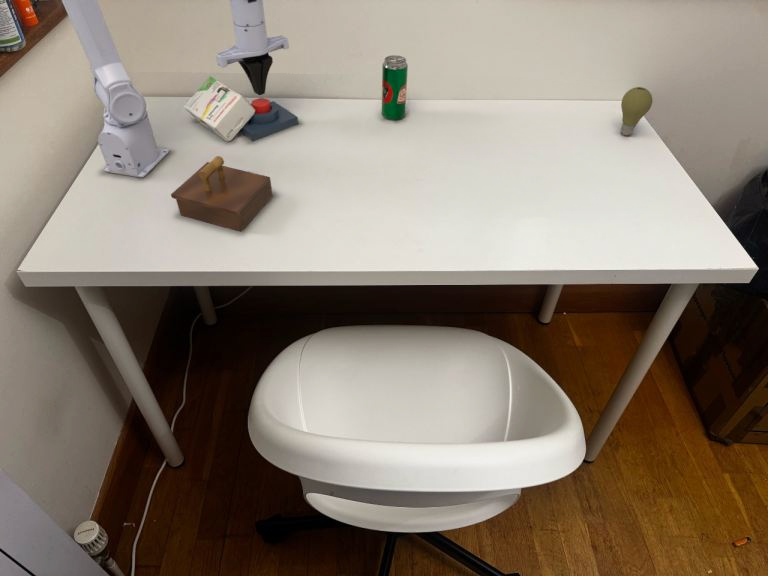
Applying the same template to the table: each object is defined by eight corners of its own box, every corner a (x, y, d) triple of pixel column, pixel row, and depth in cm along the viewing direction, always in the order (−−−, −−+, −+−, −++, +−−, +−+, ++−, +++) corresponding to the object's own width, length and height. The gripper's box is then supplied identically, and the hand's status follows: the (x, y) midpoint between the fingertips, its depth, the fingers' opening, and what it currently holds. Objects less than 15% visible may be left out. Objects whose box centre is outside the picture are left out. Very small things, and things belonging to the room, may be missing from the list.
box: (252, 141, 112) (249, 125, 109) (229, 124, 117) (226, 108, 114) (298, 124, 117) (296, 108, 115) (274, 108, 122) (272, 92, 119)
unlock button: (259, 116, 113) (257, 108, 112) (249, 109, 115) (248, 101, 113) (274, 110, 114) (273, 102, 113) (264, 104, 116) (263, 96, 115)
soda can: (401, 122, 118) (404, 66, 110) (378, 119, 119) (379, 62, 111) (407, 111, 122) (410, 56, 113) (385, 108, 123) (386, 52, 114)
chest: (180, 215, 94) (175, 199, 92) (215, 182, 101) (212, 166, 99) (241, 231, 92) (237, 215, 89) (272, 196, 99) (270, 180, 96)
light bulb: (616, 141, 114) (632, 94, 107) (607, 128, 118) (622, 81, 111) (643, 141, 114) (661, 94, 107) (633, 128, 118) (650, 82, 111)
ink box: (209, 74, 114) (242, 94, 108) (224, 91, 118) (257, 111, 112) (182, 106, 113) (214, 128, 107) (198, 121, 117) (229, 143, 111)
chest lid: (171, 197, 92) (164, 173, 89) (208, 165, 99) (202, 141, 96) (237, 215, 89) (232, 191, 86) (270, 180, 96) (267, 156, 93)
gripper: (270, 6, 108) (278, 76, 118) (202, 24, 101) (216, 96, 111) (291, 17, 104) (298, 87, 114) (222, 35, 97) (235, 109, 107)
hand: (259, 92), depth 112 cm, fingers closed
